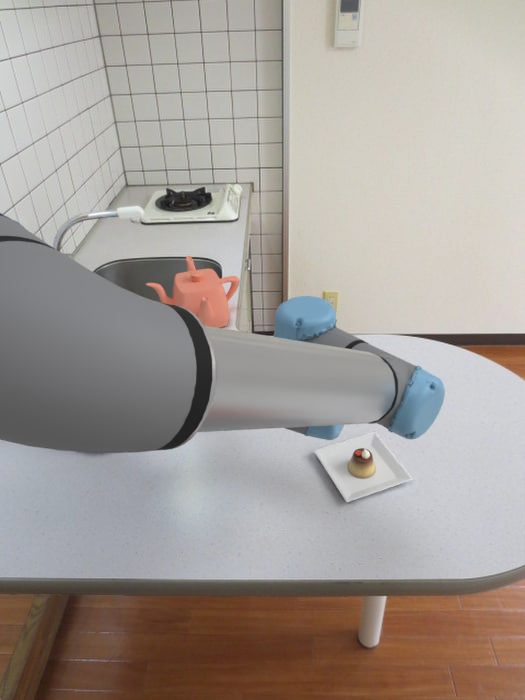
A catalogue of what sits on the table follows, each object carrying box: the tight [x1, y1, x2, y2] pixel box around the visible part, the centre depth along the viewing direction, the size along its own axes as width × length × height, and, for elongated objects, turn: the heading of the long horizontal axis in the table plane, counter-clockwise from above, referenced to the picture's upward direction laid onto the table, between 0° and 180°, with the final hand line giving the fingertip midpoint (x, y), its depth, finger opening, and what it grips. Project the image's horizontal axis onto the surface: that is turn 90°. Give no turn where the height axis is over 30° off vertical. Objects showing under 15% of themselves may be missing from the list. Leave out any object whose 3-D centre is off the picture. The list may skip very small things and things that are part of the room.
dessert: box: [313, 431, 414, 503], centre depth 86 cm, size 12×12×5 cm
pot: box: [145, 255, 241, 328], centre depth 127 cm, size 18×17×12 cm
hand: (123, 355), depth 84 cm, fingers open, 13 cm apart
